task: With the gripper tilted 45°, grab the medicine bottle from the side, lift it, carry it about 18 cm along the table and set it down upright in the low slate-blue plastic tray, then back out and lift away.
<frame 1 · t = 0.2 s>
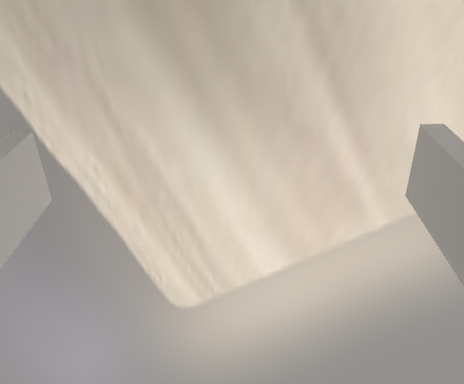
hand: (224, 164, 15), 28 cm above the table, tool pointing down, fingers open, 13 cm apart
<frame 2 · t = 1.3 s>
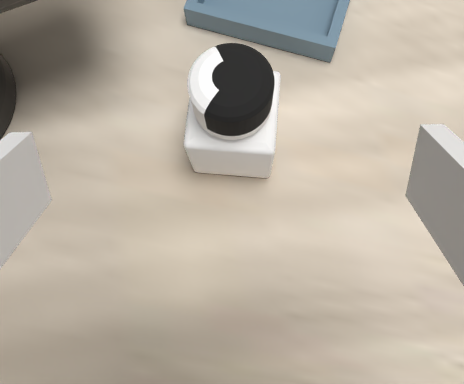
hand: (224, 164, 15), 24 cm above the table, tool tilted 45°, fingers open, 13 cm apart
medicine bottle: (235, 141, 40), on the table
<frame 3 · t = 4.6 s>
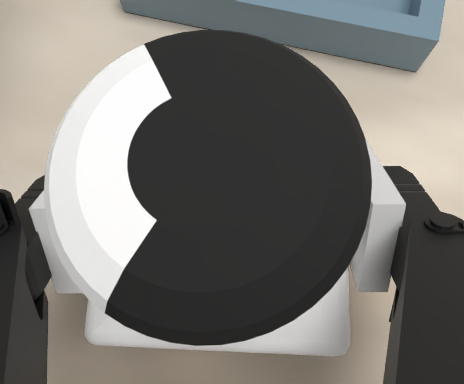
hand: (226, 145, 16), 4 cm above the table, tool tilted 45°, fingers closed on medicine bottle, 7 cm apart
medicine bottle: (230, 248, 19), on the table, touching gripper
when the fingers open (6 cm above the table, at t = 10.6 s): medicine bottle drops 1 cm, resting on tray.
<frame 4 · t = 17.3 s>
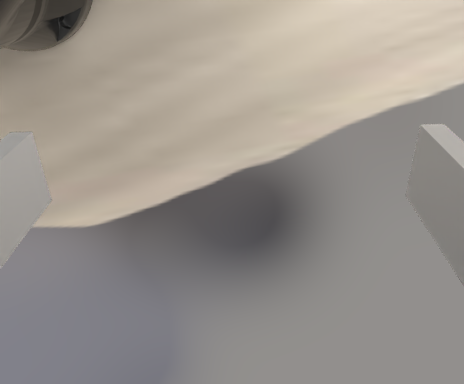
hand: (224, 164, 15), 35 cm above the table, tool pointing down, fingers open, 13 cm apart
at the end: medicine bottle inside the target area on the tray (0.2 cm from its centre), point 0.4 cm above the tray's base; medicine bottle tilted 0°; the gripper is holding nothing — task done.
